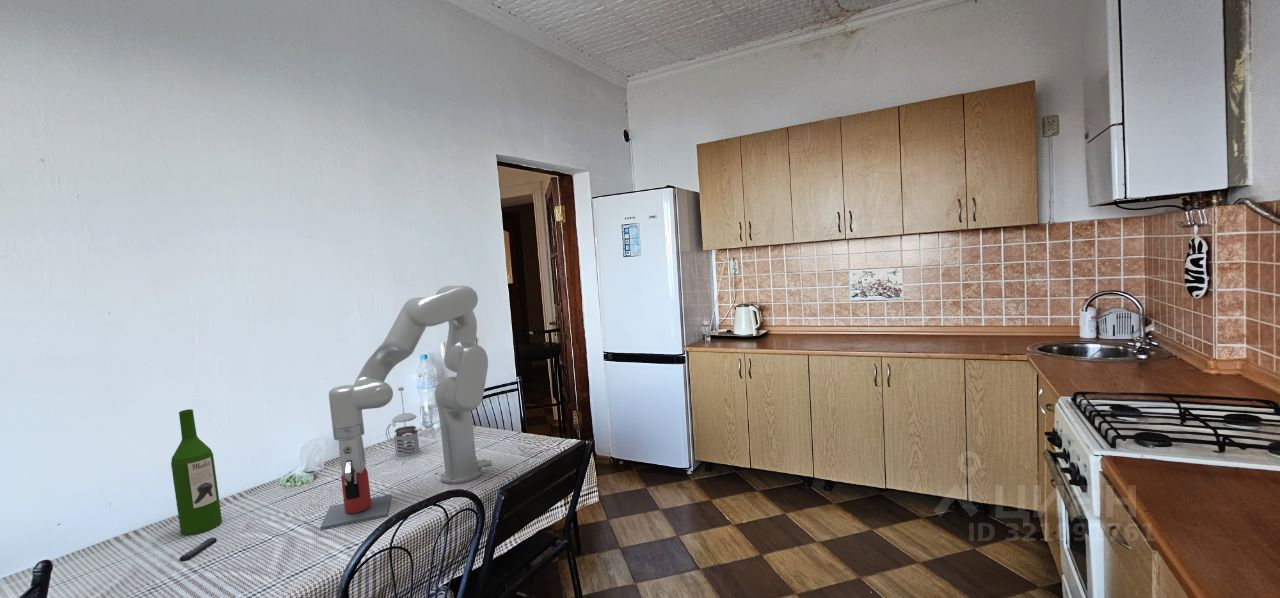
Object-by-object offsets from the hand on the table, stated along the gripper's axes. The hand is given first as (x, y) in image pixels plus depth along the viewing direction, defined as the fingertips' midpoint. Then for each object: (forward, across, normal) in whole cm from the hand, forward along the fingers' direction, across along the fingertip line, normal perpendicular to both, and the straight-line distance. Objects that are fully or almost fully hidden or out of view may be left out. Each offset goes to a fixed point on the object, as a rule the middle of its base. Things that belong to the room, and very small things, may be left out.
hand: (355, 491), depth 154 cm
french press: (+6, +45, -10) cm, 47 cm away
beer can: (+5, 0, 0) cm, 5 cm away
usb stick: (+7, -4, +35) cm, 36 cm away
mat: (+6, 0, 0) cm, 6 cm away
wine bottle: (+6, +12, +40) cm, 42 cm away
